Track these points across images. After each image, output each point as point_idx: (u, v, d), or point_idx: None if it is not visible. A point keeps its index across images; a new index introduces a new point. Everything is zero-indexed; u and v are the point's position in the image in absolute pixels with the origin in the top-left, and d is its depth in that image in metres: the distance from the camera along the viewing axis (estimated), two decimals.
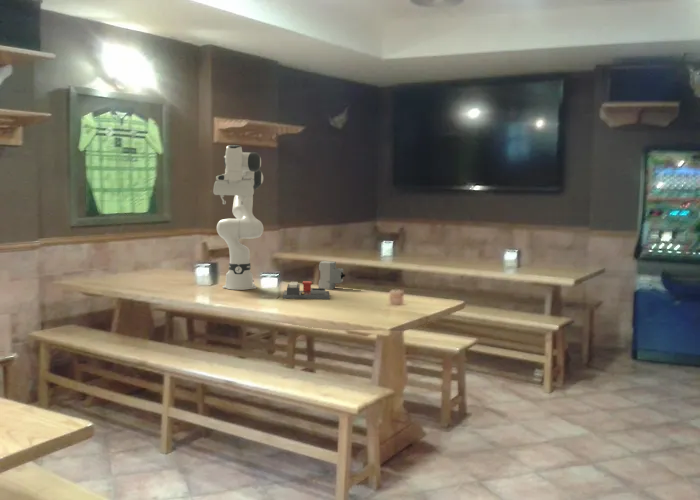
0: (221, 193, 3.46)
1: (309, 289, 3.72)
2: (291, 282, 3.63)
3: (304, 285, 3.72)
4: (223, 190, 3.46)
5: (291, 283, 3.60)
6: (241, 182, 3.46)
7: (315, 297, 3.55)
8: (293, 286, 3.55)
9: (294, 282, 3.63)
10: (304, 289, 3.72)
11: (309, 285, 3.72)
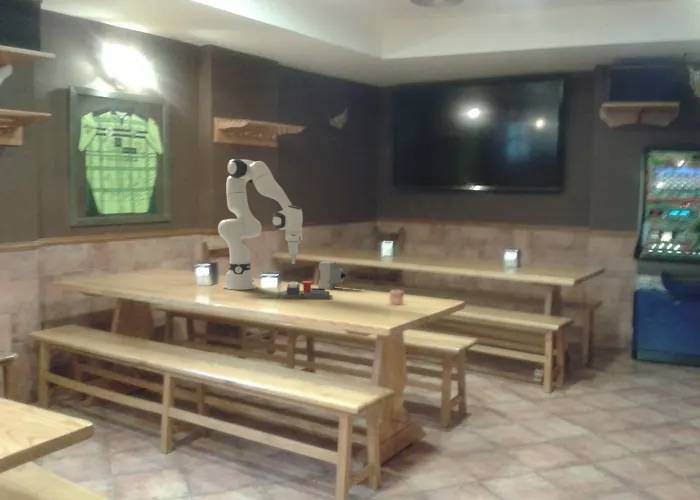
0: None
1: (309, 289, 3.72)
2: (291, 282, 3.63)
3: (304, 285, 3.72)
4: None
5: (291, 283, 3.60)
6: None
7: (315, 297, 3.55)
8: (293, 286, 3.55)
9: (294, 282, 3.63)
10: (304, 289, 3.72)
11: (309, 285, 3.72)
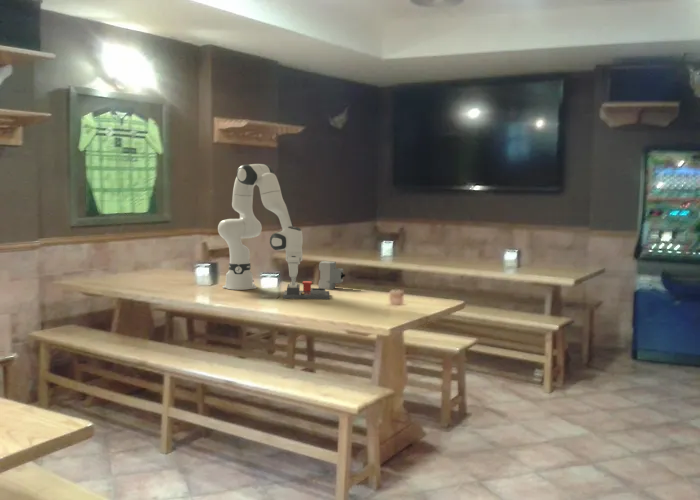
0: None
1: (309, 289, 3.72)
2: (291, 283, 3.63)
3: (304, 285, 3.72)
4: None
5: (291, 284, 3.60)
6: None
7: (315, 297, 3.55)
8: (293, 287, 3.55)
9: None
10: (304, 289, 3.72)
11: (309, 285, 3.72)
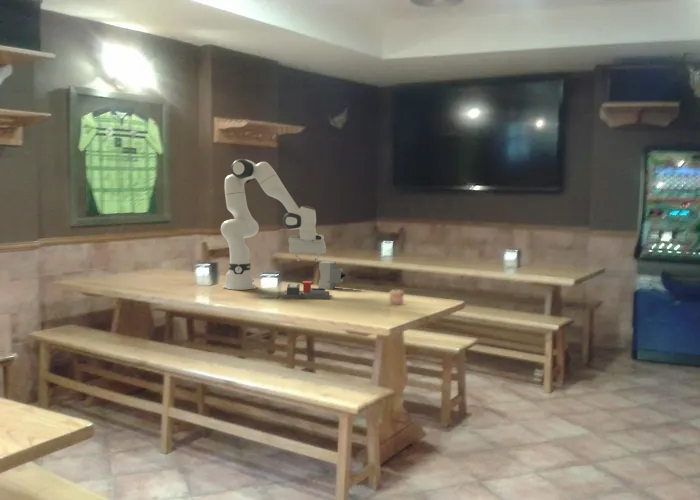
0: None
1: (309, 289, 3.72)
2: (291, 284, 3.63)
3: (304, 285, 3.72)
4: None
5: (291, 285, 3.60)
6: None
7: (315, 297, 3.55)
8: None
9: (294, 284, 3.64)
10: (304, 289, 3.72)
11: (309, 285, 3.72)
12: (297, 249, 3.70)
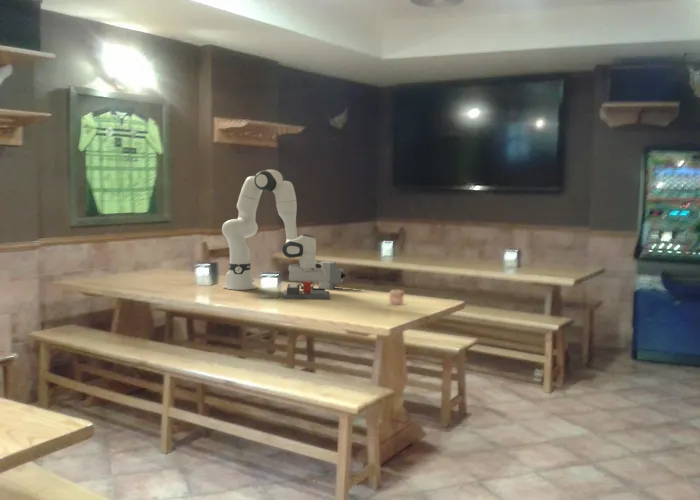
0: None
1: (309, 289, 3.72)
2: (291, 284, 3.63)
3: (304, 285, 3.72)
4: None
5: (291, 285, 3.60)
6: None
7: (315, 297, 3.55)
8: None
9: (294, 284, 3.64)
10: (304, 289, 3.72)
11: (309, 285, 3.72)
12: (296, 278, 3.72)
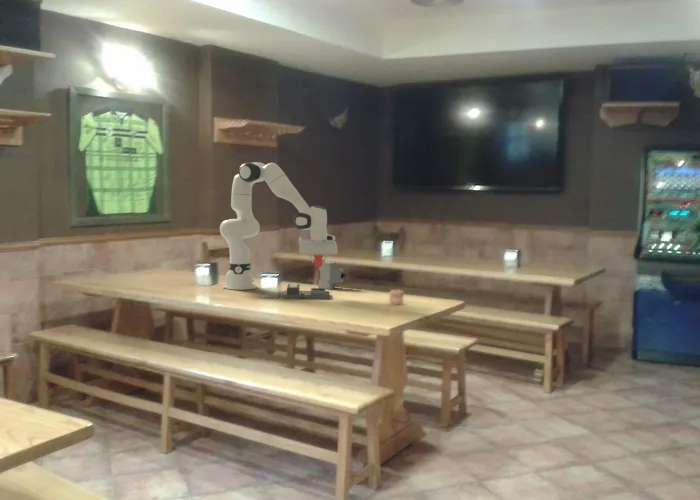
0: None
1: (320, 262, 3.60)
2: (291, 284, 3.63)
3: (315, 258, 3.59)
4: None
5: (291, 285, 3.60)
6: None
7: (315, 297, 3.55)
8: None
9: (294, 284, 3.64)
10: (315, 262, 3.59)
11: (320, 258, 3.59)
12: (307, 250, 3.59)
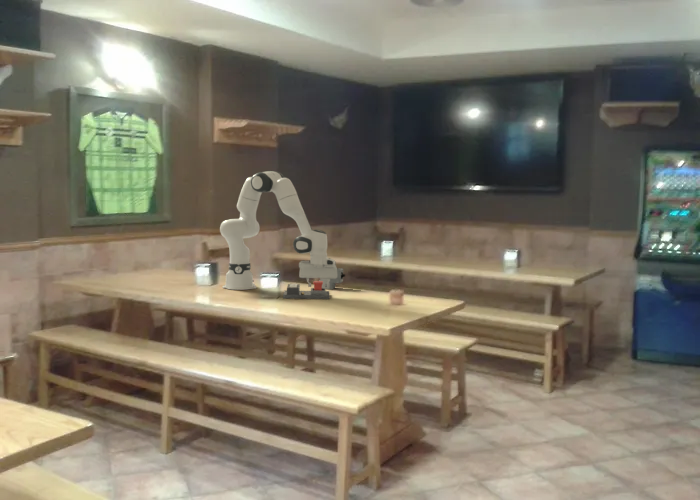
0: None
1: (320, 289, 3.60)
2: (291, 284, 3.63)
3: (315, 285, 3.59)
4: None
5: (291, 285, 3.60)
6: None
7: (315, 297, 3.55)
8: None
9: (294, 284, 3.64)
10: (315, 289, 3.60)
11: (320, 285, 3.59)
12: (307, 274, 3.59)
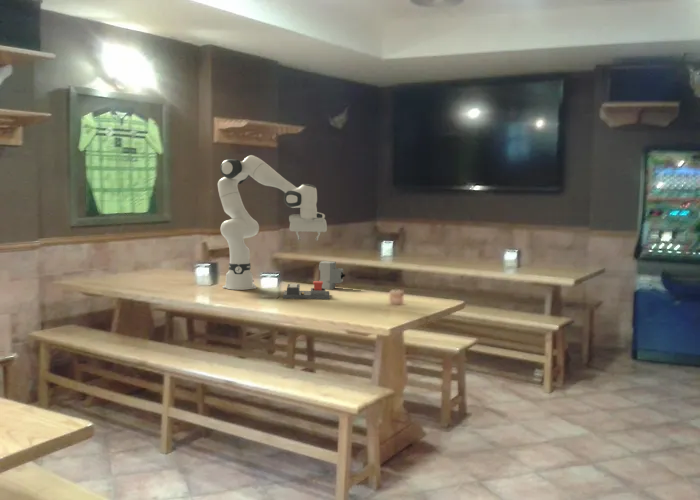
0: None
1: (320, 289, 3.60)
2: (291, 284, 3.63)
3: (315, 285, 3.59)
4: None
5: (291, 285, 3.60)
6: None
7: (315, 297, 3.55)
8: None
9: (294, 284, 3.64)
10: (315, 289, 3.60)
11: (320, 285, 3.59)
12: (297, 228, 3.66)
